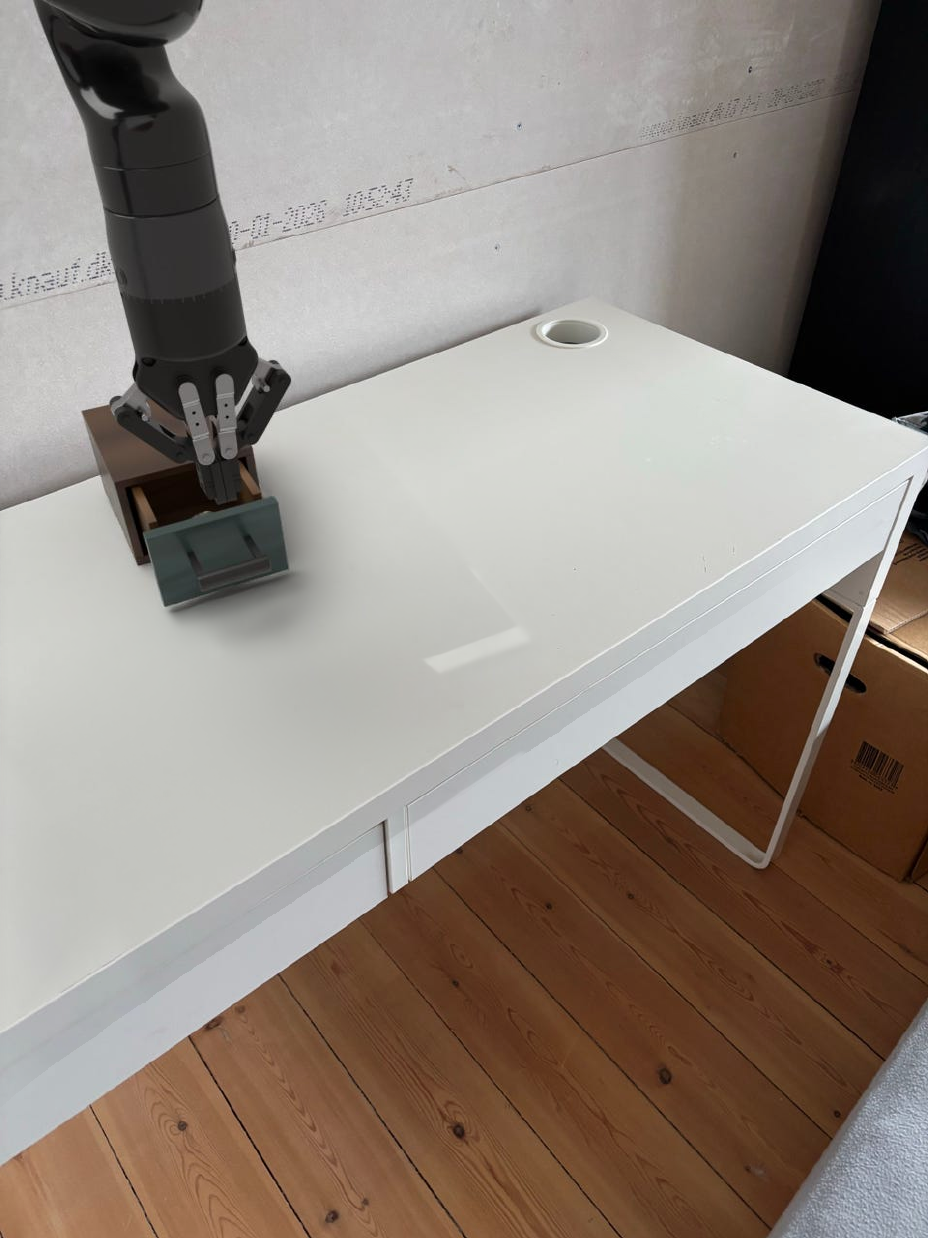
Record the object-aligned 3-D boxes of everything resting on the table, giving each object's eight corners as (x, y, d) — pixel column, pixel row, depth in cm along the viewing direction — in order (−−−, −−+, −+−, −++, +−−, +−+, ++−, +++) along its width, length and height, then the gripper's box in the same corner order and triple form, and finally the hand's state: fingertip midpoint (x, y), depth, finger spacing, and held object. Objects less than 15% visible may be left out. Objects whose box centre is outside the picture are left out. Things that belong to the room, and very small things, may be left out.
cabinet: (267, 528, 95) (252, 446, 89) (137, 565, 91) (113, 482, 85) (223, 459, 105) (207, 381, 99) (104, 489, 101) (81, 410, 95)
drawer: (308, 599, 86) (298, 531, 81) (179, 640, 82) (160, 571, 77) (243, 497, 98) (231, 432, 93) (129, 528, 94) (110, 462, 89)
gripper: (257, 235, 68) (289, 452, 79) (60, 271, 63) (125, 496, 74) (294, 271, 63) (323, 498, 74) (83, 313, 58) (148, 548, 69)
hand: (223, 497), depth 74 cm, fingers closed
